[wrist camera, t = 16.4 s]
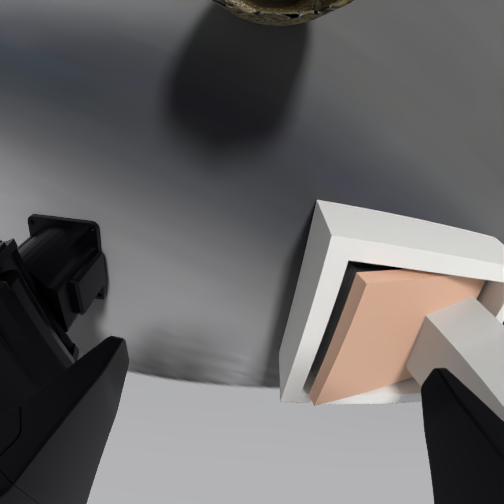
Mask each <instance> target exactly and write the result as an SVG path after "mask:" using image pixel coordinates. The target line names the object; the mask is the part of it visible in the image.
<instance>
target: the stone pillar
mask: <svg viewBox="0 0 504 504" xmlns="http://www.w3.org/2000/svg"><path fill="white" fill-rule="evenodd" d="M405 366H406V368H407V369H408V370H409V372H410V373H411V374H412V376H413V377H414V379H415V380H416V381H417V383H418V384H419V385H420V387H421V386H422V384H423V382H424V381H425V380H426V378H427V377H428V375H429V374H430V372H431V371H432V370H433V369H434V368H441V367H444V368H447V369H448V370H449V371H450V372H451V373H452V374H453V375H454V376H456V377H457V378H458V379H459V380H460V381H461V382H462V383H463V384H464V385H465V386H466V387H468V388H469V389H470V390H471V391H472V392H473V393H474V394H475V395H476V396H477V397H478V398H479V399H480V400H482V401H483V402H484V403H485V404H486V405H487V406H488V407H489V408H490V409H491V410H492V411H493V412H494V413H495V414H496V415H497V416H498V417H499V418H501V419H502V420H503V421H504V326H503V325H502V324H501V323H500V322H499V321H498V320H497V319H496V318H495V317H494V316H493V315H492V314H491V313H490V312H489V311H488V310H487V309H486V308H485V307H484V306H483V305H482V304H481V303H480V302H479V301H478V300H477V299H475V298H474V297H473V296H470V297H468V298H466V299H464V300H461V301H459V302H457V303H454V304H452V305H450V306H447V307H445V308H442V309H440V310H438V311H435V312H433V313H430V314H428V315H425V318H424V321H423V323H422V326H421V329H420V331H419V334H418V336H417V339H416V341H415V344H414V346H413V348H412V351H411V353H410V355H409V358H408V360H407V362H406V365H405Z"/></svg>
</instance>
